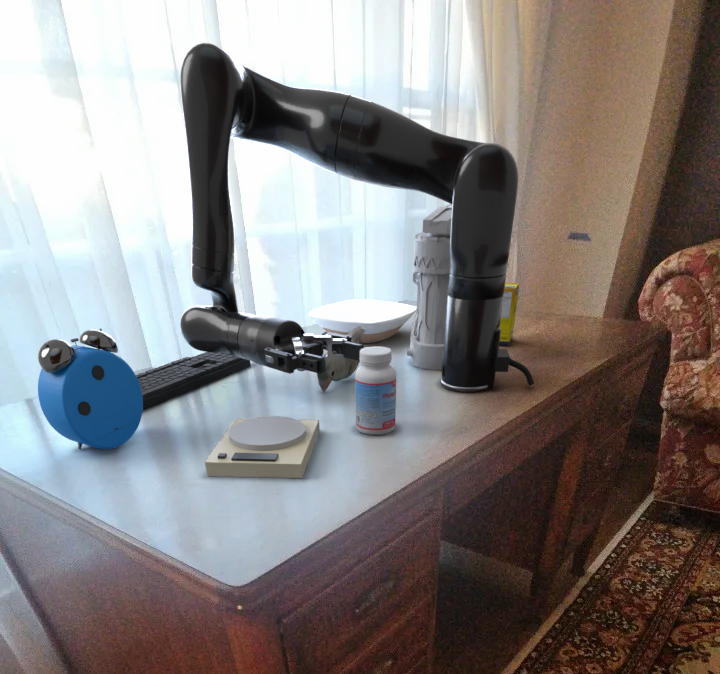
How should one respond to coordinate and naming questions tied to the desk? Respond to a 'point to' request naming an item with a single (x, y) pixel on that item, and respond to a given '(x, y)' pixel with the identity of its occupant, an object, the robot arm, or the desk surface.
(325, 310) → the bowl
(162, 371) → the keyboard
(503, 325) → the supplement box
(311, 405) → the desk surface
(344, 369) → the decorative bird
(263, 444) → the scale
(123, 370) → the alarm clock
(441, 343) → the lantern
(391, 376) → the pill bottle
